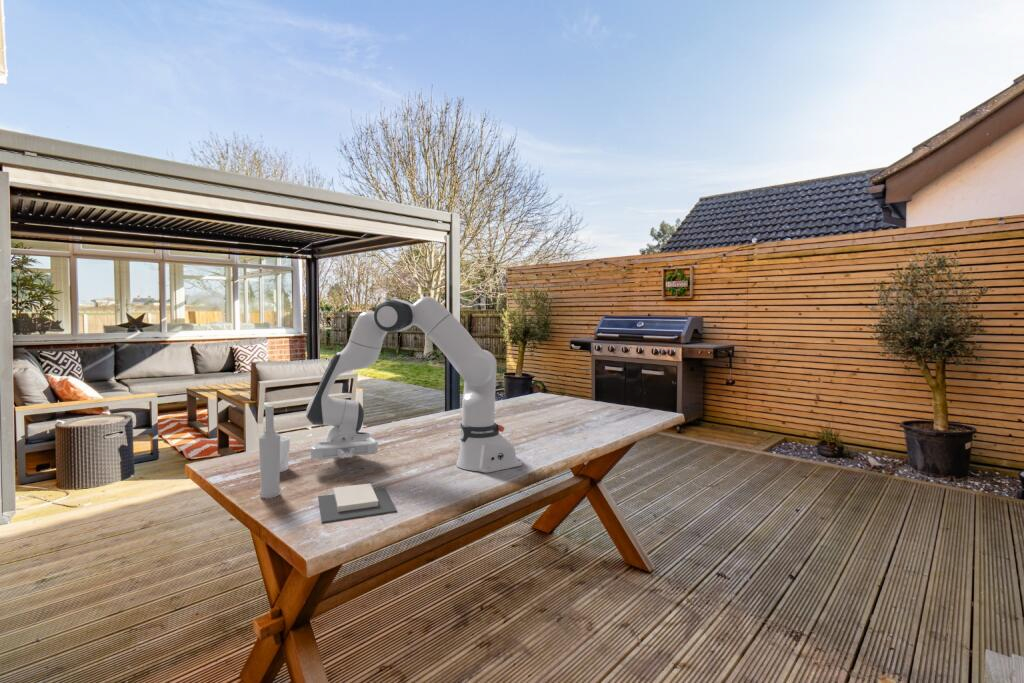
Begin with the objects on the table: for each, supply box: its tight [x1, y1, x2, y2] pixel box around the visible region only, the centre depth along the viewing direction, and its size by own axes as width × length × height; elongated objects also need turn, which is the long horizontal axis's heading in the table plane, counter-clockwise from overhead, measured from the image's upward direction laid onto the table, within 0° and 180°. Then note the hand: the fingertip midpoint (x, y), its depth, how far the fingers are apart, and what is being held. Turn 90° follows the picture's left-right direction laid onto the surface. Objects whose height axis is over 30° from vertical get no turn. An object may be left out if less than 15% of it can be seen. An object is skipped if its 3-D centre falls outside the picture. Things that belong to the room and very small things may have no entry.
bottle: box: [258, 404, 281, 500], centre depth 131 cm, size 5×5×25 cm
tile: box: [332, 482, 378, 512], centre depth 129 cm, size 10×2×14 cm
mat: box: [317, 487, 398, 524], centre depth 127 cm, size 18×18×1 cm
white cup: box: [280, 435, 291, 473], centre depth 153 cm, size 8×8×10 cm
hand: (347, 455), depth 147 cm, fingers closed
